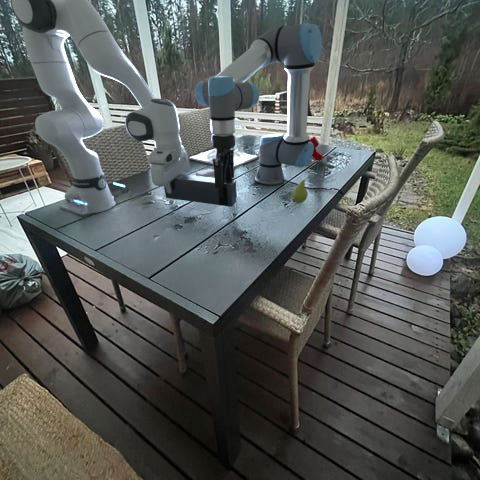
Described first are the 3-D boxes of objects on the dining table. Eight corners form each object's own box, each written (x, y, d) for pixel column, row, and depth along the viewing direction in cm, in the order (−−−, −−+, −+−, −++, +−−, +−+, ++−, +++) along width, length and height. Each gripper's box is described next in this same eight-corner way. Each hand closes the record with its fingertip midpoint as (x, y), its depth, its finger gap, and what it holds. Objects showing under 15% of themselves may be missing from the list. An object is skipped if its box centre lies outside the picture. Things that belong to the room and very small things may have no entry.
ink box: (211, 191, 132) (209, 167, 125) (218, 194, 129) (216, 170, 122) (197, 196, 127) (194, 172, 120) (204, 199, 124) (201, 174, 117)
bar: (236, 201, 99) (235, 180, 94) (232, 207, 95) (231, 184, 91) (172, 193, 106) (169, 172, 101) (165, 197, 102) (162, 176, 98)
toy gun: (327, 156, 170) (314, 135, 166) (326, 157, 167) (314, 136, 163) (301, 171, 180) (289, 151, 176) (301, 173, 177) (288, 153, 173)
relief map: (231, 168, 161) (231, 160, 158) (189, 159, 179) (189, 151, 176) (257, 158, 179) (257, 150, 176) (217, 150, 197) (216, 142, 194)
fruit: (288, 200, 123) (290, 174, 116) (302, 197, 125) (305, 172, 119) (296, 206, 118) (299, 179, 111) (310, 203, 120) (314, 177, 114)
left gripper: (176, 143, 103) (180, 178, 111) (144, 158, 87) (152, 198, 94) (191, 145, 102) (194, 180, 109) (161, 160, 85) (168, 200, 93)
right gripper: (222, 127, 93) (224, 191, 106) (200, 139, 79) (206, 211, 91) (243, 129, 91) (243, 193, 104) (224, 140, 77) (226, 214, 89)
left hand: (174, 189), depth 102 cm, fingers open, 5 cm apart
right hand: (225, 201), depth 97 cm, fingers closed on bar, 5 cm apart
